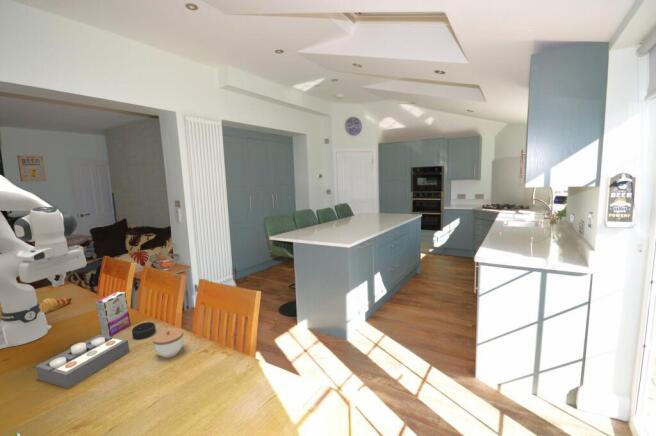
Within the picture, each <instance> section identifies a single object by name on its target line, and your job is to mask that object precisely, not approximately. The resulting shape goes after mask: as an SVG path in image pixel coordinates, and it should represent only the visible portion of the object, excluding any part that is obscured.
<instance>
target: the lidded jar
mask: <svg viewBox="0 0 656 436" xmlns="http://www.w3.org/2000/svg"><path fill="white" fill-rule="evenodd" d="M184 333H185V332H184V330H183V329H182V328H179V327H172V328H171V327H170V328H167V329H164V330H161V331H159V332H157V333H156V334H155V335H154V336H153V337H152V343H153V347H154V350H155V352H156V354H158V355H159V356H161V357H162V358H166V359H167V358H171V357H174V356H176V355H178V353H180V350H181V349H182V348H183V346H184V340H185V339H184V337H185V334H184Z"/></svg>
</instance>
